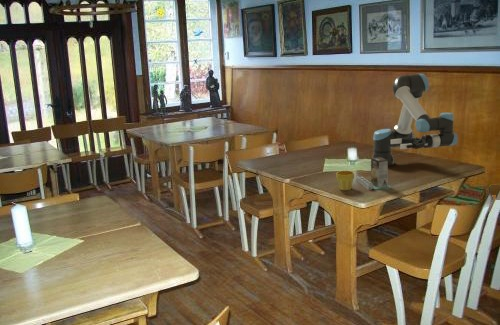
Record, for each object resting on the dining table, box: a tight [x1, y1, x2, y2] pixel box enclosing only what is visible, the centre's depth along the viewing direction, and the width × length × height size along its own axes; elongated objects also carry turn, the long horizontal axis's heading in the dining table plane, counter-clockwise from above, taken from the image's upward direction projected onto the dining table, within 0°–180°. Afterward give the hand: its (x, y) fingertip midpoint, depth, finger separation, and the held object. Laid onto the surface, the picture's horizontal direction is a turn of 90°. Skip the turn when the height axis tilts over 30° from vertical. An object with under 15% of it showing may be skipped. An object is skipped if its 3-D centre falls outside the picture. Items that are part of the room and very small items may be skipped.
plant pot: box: [335, 170, 355, 191], centre depth 295 cm, size 10×10×10 cm
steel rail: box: [356, 175, 375, 191], centre depth 300 cm, size 3×20×3 cm, turn 8°
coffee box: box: [370, 157, 389, 188], centre depth 294 cm, size 9×6×16 cm
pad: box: [374, 184, 392, 191], centre depth 296 cm, size 10×12×1 cm
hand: (395, 144), depth 291 cm, fingers open, 13 cm apart
